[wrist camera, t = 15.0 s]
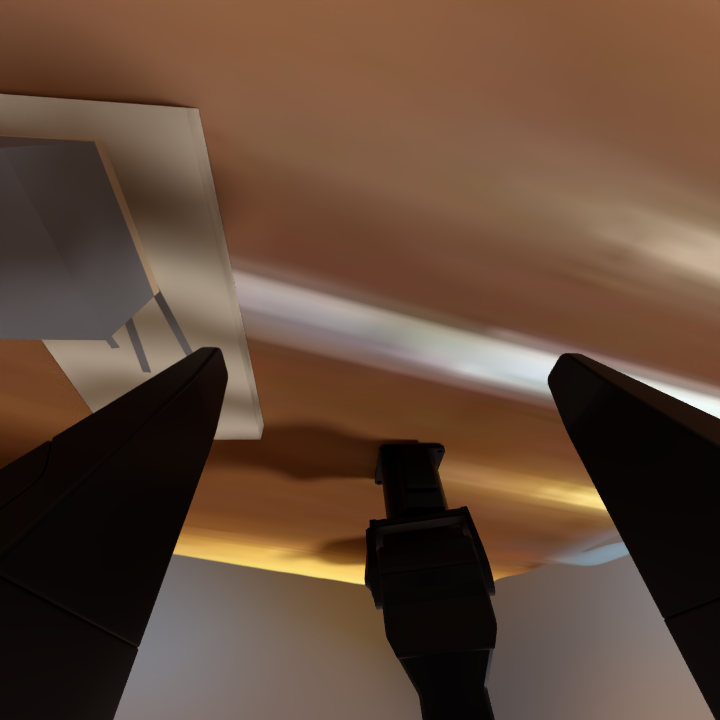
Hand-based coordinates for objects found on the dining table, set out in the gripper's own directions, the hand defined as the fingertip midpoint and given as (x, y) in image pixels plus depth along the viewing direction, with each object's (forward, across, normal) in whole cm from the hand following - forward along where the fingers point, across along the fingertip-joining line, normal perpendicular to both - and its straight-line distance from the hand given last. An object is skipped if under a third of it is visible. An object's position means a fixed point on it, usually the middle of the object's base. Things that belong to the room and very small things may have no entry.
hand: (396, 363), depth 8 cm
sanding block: (+10, +14, 0) cm, 18 cm away
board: (+12, +14, +6) cm, 19 cm away
